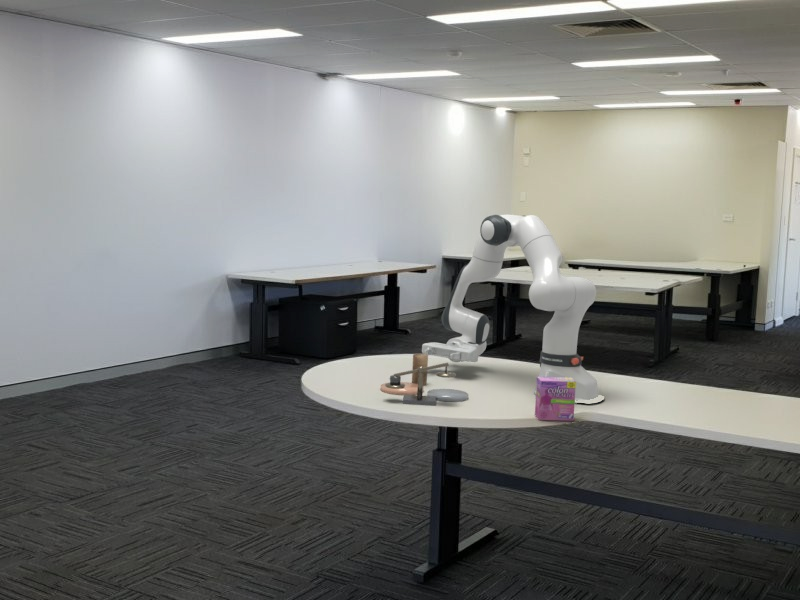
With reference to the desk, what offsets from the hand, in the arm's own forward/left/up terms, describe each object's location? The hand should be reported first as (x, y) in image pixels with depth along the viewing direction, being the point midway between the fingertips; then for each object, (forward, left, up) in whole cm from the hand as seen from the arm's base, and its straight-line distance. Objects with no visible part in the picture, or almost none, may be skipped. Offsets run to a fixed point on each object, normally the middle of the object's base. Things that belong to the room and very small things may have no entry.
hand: (438, 354), depth 293 cm
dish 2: (-17, +22, -9) cm, 30 cm away
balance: (-14, +34, -9) cm, 38 cm away
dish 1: (-1, +24, -9) cm, 26 cm away
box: (-54, +24, -9) cm, 60 cm away
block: (0, +12, -9) cm, 15 cm away
